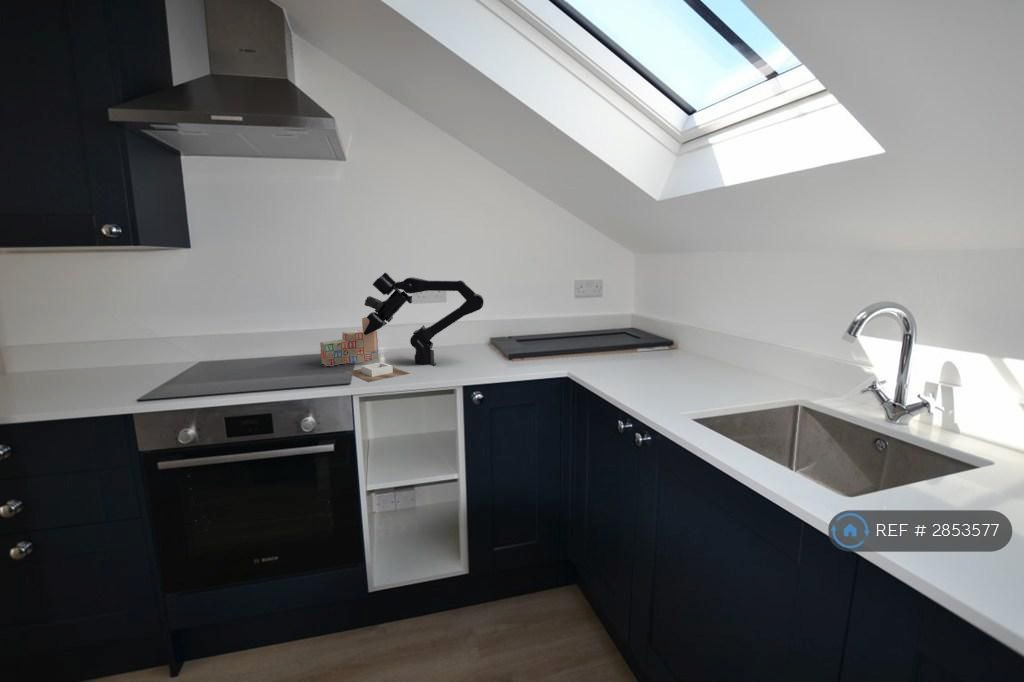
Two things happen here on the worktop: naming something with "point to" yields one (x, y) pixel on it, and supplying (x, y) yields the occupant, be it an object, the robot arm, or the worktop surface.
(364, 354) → the stack of blocks
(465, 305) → the robot arm
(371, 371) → the white square frame
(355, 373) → the walnut board
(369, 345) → the terracotta pillar
